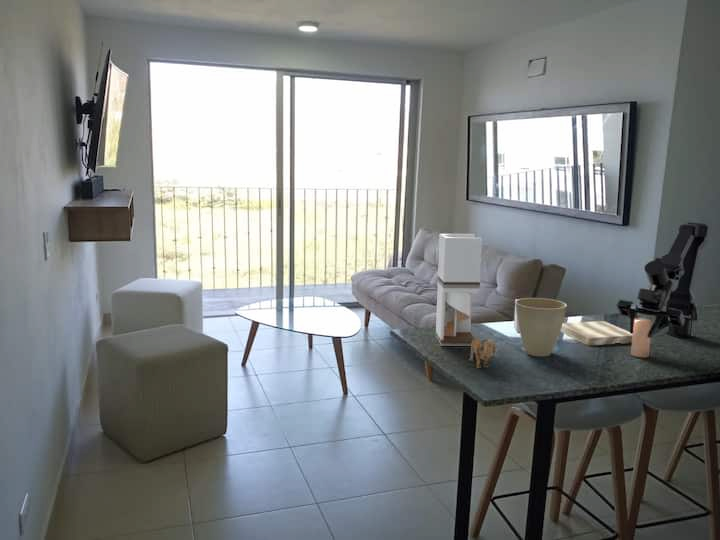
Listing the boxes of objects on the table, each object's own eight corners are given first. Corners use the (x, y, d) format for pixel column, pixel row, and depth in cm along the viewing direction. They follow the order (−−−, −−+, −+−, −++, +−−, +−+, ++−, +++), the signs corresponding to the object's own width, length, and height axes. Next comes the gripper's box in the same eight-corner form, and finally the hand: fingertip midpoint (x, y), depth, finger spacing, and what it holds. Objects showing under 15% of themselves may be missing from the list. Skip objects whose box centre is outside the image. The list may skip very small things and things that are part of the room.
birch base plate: (602, 327, 209) (603, 321, 208) (636, 342, 192) (636, 335, 191) (557, 330, 205) (558, 323, 205) (587, 345, 188) (588, 338, 187)
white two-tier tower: (441, 347, 184) (445, 237, 178) (435, 337, 195) (439, 233, 189) (476, 347, 185) (482, 238, 178) (469, 337, 195) (474, 234, 189)
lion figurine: (499, 371, 163) (501, 341, 161) (482, 373, 162) (483, 342, 160) (475, 355, 177) (477, 326, 175) (459, 356, 176) (461, 328, 174)
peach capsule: (641, 351, 181) (644, 317, 179) (652, 356, 176) (656, 321, 174) (627, 352, 180) (630, 318, 178) (638, 357, 175) (641, 322, 173)
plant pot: (561, 348, 185) (565, 299, 182) (564, 363, 171) (568, 310, 168) (512, 343, 189) (515, 296, 186) (512, 358, 175) (515, 306, 172)
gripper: (621, 274, 184) (602, 313, 178) (685, 283, 170) (666, 326, 165) (630, 295, 190) (612, 333, 185) (692, 305, 177) (674, 347, 171)
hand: (639, 335), depth 176 cm, fingers closed on peach capsule, 5 cm apart
